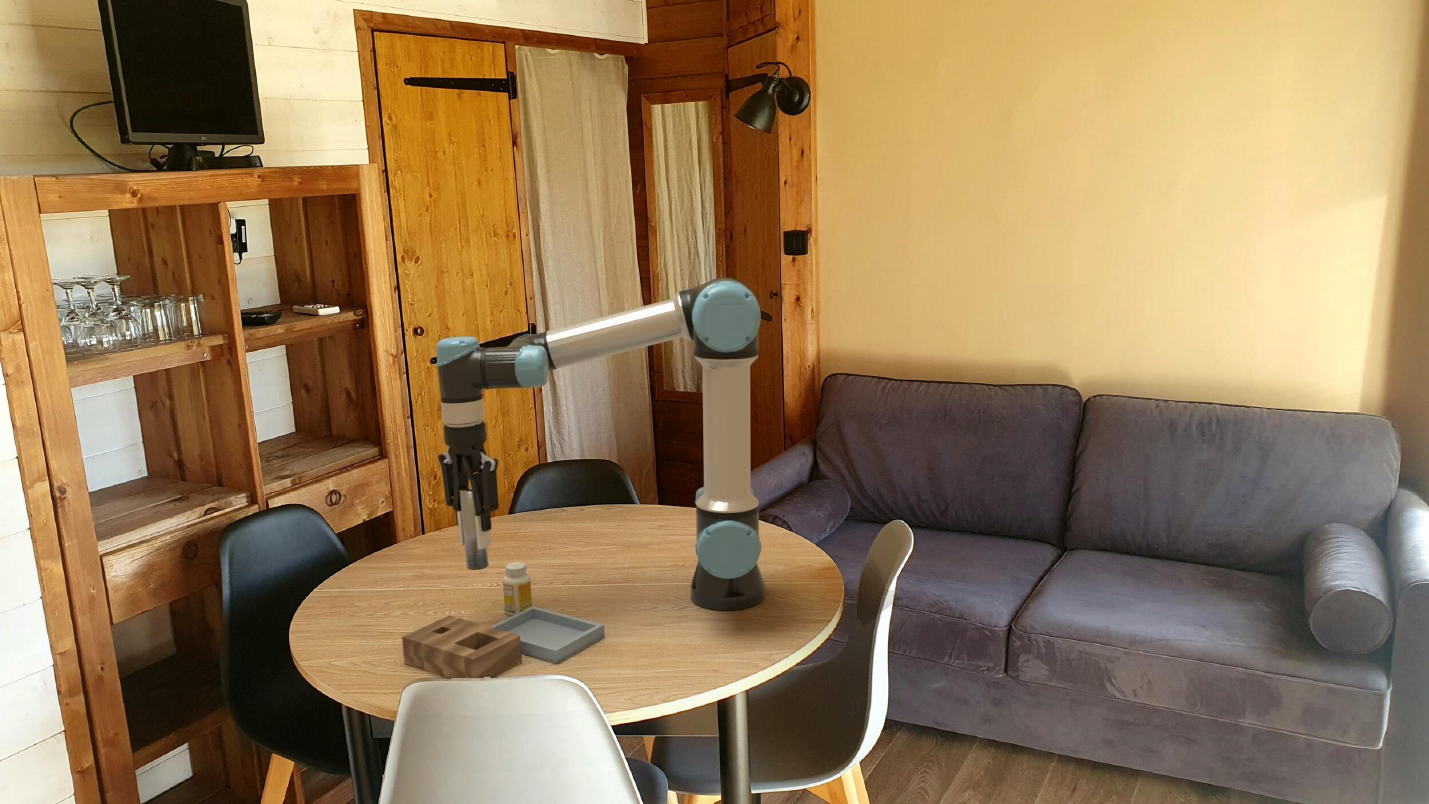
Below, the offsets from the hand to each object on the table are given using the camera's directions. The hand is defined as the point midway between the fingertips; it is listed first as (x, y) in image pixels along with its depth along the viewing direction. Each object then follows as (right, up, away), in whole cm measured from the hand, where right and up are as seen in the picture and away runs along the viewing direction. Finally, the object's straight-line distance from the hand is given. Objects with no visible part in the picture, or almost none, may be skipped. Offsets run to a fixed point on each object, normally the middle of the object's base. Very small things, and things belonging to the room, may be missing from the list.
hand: (475, 544), depth 193 cm
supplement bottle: (+6, -15, +13) cm, 21 cm away
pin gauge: (0, -4, +1) cm, 4 cm away
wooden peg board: (0, -20, -9) cm, 22 cm away
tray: (+13, -17, -1) cm, 22 cm away
